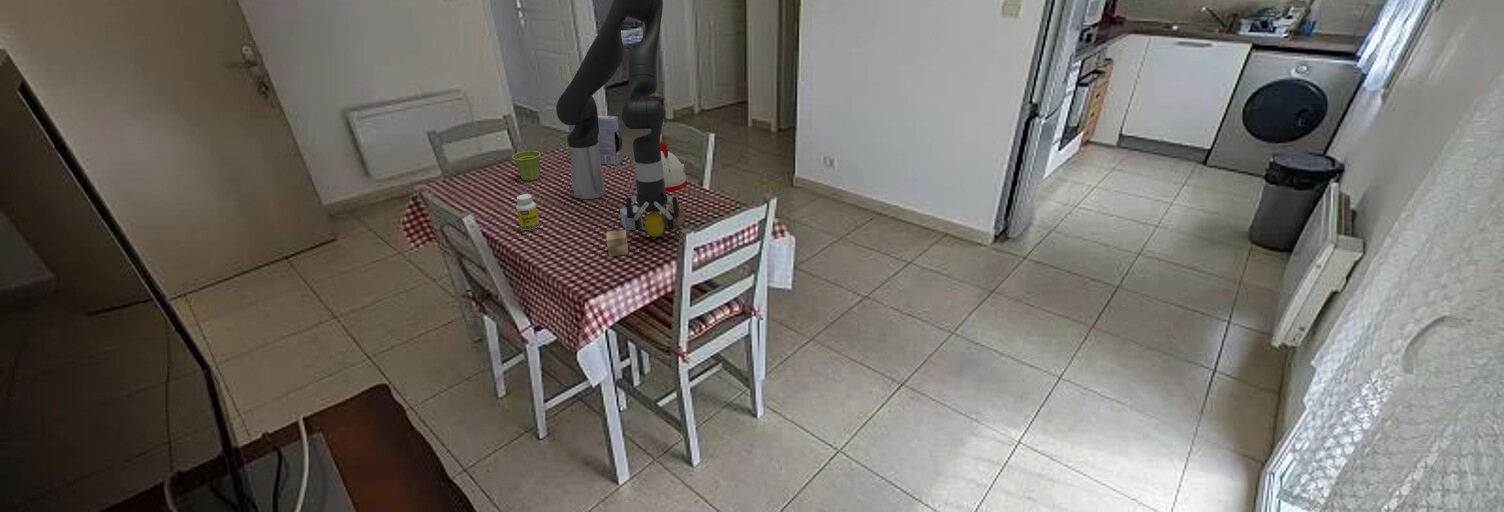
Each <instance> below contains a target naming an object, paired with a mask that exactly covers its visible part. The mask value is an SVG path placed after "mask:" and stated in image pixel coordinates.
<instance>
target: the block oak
mask: <svg viewBox="0 0 1504 512" xmlns="http://www.w3.org/2000/svg"><path fill="white" fill-rule="evenodd" d="M627 235H628V234H627V231H626V230H625V229H623V230H612V231H611V230H610V231H606V245H607V246H606V247H607V250H608V251H607V253H608V257H616V256H617V257H618V256H626V255H629V243H628V236H627Z"/></svg>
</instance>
